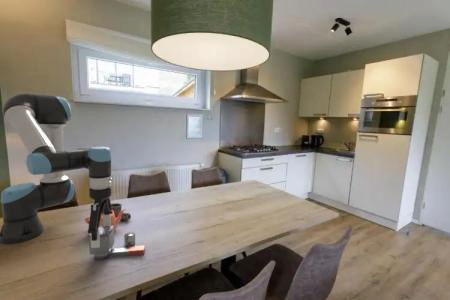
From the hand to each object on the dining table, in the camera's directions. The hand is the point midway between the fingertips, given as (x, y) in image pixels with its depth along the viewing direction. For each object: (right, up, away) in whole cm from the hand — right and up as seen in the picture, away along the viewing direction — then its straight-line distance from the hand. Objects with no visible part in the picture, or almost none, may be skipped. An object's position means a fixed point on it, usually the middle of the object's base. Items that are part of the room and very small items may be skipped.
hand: (101, 237), depth 90 cm
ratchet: (+6, -8, +2) cm, 10 cm away
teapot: (-9, -5, +21) cm, 24 cm away
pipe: (-9, -3, +34) cm, 35 cm away
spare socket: (+8, -7, +9) cm, 14 cm away
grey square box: (0, -5, 0) cm, 5 cm away
